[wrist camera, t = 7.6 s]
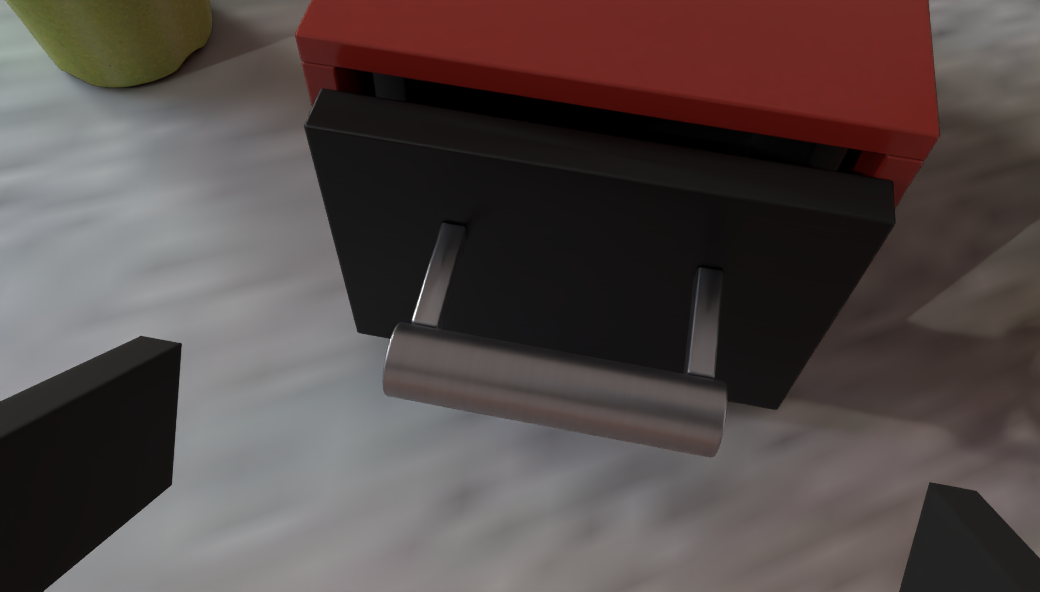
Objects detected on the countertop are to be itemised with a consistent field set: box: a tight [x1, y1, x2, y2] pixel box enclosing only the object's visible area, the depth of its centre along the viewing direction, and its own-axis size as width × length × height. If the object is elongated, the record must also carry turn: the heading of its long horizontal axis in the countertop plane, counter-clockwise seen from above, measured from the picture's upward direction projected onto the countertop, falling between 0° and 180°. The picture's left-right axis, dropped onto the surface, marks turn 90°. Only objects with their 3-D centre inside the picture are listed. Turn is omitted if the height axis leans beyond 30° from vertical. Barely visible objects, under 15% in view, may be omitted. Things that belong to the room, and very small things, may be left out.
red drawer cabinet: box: [295, 0, 940, 208], centre depth 27 cm, size 16×14×11 cm
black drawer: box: [304, 73, 896, 457], centre depth 24 cm, size 19×12×9 cm, turn 169°
